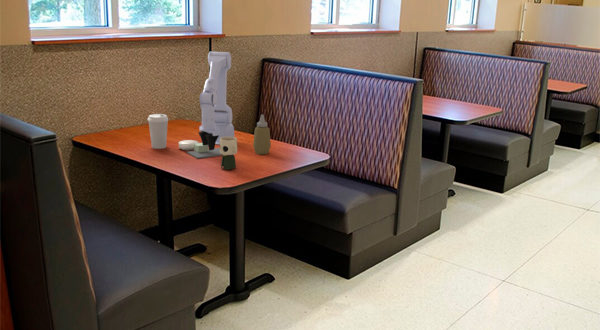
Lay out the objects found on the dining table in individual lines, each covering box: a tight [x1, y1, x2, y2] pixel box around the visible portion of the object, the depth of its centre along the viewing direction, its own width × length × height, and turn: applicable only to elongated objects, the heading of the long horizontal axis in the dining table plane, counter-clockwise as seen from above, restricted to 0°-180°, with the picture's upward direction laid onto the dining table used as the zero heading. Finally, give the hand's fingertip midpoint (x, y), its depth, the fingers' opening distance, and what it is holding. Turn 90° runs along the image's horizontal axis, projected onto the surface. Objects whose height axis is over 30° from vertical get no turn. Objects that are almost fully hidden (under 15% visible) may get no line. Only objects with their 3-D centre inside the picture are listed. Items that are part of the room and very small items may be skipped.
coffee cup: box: [147, 113, 169, 150], centre depth 278 cm, size 10×10×15 cm
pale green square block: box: [193, 142, 209, 153], centre depth 274 cm, size 5×5×3 cm
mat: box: [186, 147, 223, 160], centre depth 271 cm, size 16×11×1 cm
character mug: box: [219, 136, 238, 170], centre depth 248 cm, size 11×7×13 cm, turn 45°
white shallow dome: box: [178, 139, 199, 151], centre depth 279 cm, size 9×9×3 cm
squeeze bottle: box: [252, 114, 272, 155], centre depth 273 cm, size 8×8×18 cm
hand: (208, 148), depth 271 cm, fingers open, 5 cm apart
